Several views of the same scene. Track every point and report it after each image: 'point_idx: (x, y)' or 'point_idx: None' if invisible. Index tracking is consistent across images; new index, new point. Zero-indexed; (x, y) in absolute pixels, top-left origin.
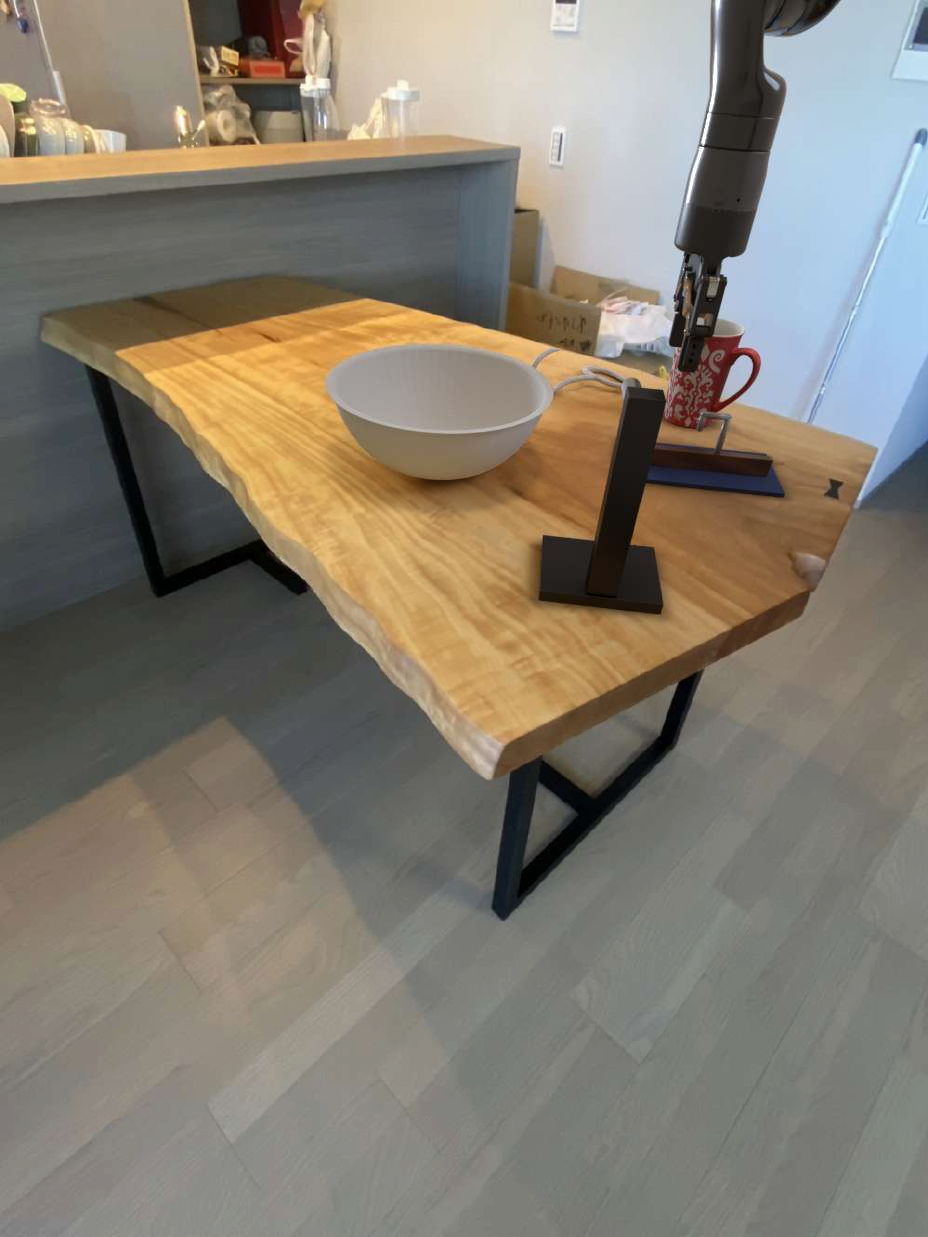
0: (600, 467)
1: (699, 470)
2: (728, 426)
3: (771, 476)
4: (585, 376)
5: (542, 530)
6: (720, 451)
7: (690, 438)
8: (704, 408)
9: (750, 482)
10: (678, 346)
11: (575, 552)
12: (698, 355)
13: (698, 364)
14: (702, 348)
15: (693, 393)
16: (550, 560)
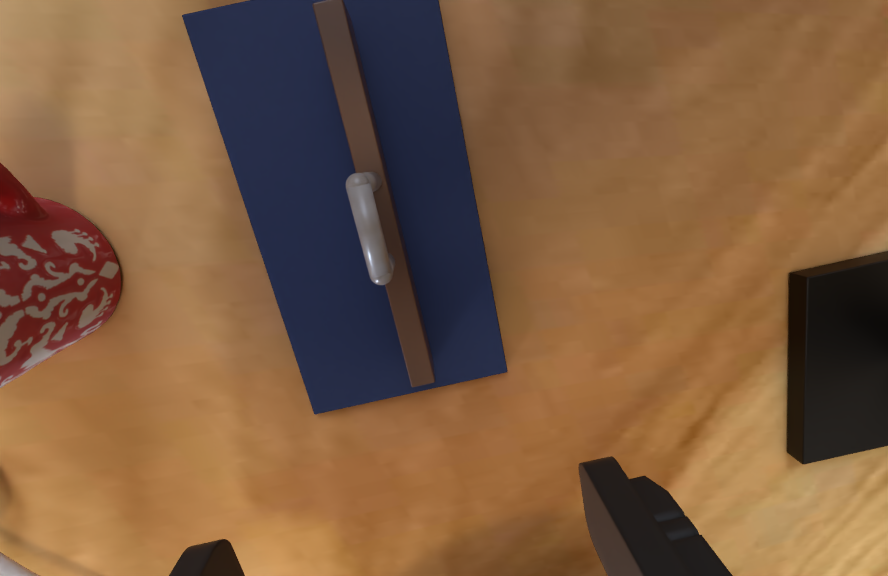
0: (465, 422)
1: (397, 211)
2: (367, 174)
3: None
4: (8, 573)
5: (743, 461)
6: (376, 173)
7: (187, 247)
8: (55, 241)
9: (404, 68)
10: (239, 567)
11: (850, 405)
12: (701, 535)
13: (626, 476)
14: (676, 554)
15: (43, 302)
16: (879, 435)
